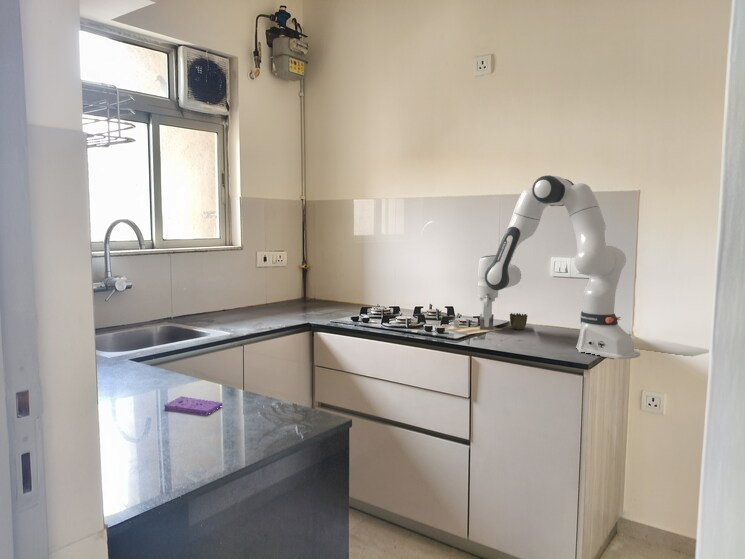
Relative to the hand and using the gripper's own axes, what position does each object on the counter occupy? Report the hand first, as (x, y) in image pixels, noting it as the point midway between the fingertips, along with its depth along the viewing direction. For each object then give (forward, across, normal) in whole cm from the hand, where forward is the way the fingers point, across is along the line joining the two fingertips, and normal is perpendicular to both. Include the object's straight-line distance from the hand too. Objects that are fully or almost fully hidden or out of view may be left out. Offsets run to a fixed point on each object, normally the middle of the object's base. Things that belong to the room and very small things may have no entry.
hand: (486, 324), depth 246 cm
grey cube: (+2, 0, 0) cm, 2 cm away
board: (+3, 0, +7) cm, 8 cm away
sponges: (+4, -119, +73) cm, 140 cm away
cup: (+3, +2, -13) cm, 14 cm away
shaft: (+2, 0, +13) cm, 13 cm away
